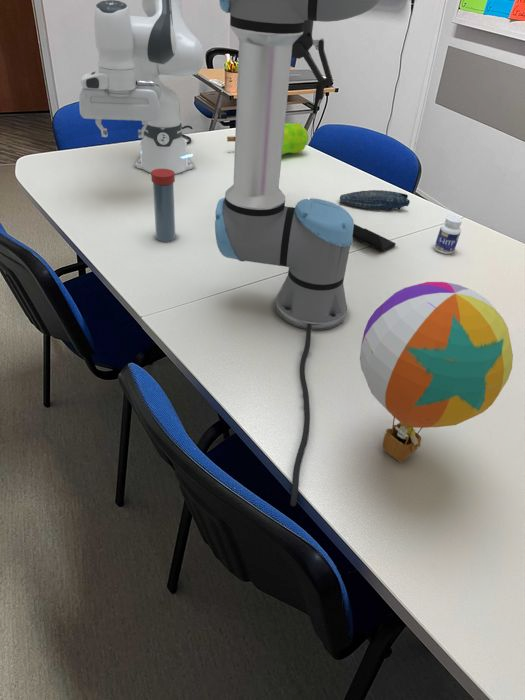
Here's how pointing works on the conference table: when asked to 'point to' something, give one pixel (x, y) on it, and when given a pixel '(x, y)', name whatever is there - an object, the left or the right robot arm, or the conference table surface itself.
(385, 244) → the handheld gaming console
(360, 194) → the fish model
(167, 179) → the lid
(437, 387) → the toy
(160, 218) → the blue-grey tall cylinder
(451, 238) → the pill bottle
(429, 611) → the conference table surface
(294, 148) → the decorative tree
